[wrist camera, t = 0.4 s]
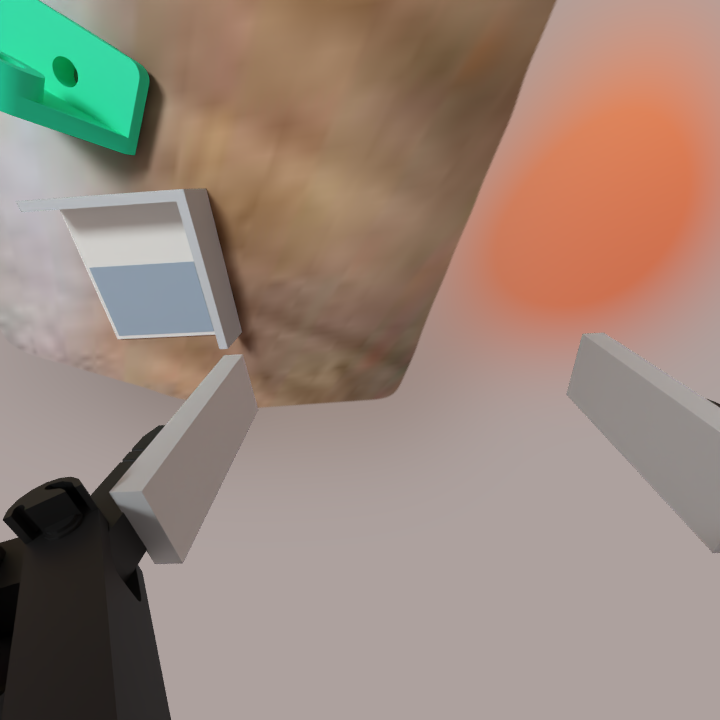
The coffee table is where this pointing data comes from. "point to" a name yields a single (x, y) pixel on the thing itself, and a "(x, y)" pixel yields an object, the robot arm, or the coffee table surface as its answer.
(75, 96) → the camera mount
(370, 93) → the coffee table surface
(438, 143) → the coffee table surface
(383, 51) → the coffee table surface
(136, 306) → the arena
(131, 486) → the robot arm
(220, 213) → the coffee table surface
